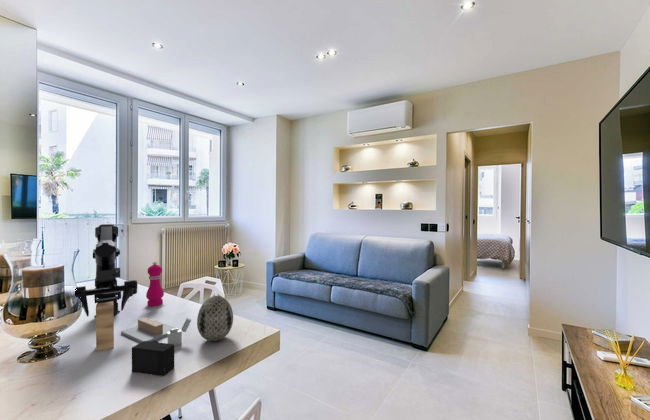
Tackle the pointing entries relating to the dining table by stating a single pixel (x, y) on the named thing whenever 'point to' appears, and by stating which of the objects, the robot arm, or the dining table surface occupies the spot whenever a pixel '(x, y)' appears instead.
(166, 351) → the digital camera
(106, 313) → the oak block
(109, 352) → the dining table surface
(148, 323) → the ridge stand
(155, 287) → the pepper mill
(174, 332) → the lighter
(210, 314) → the decorative egg
